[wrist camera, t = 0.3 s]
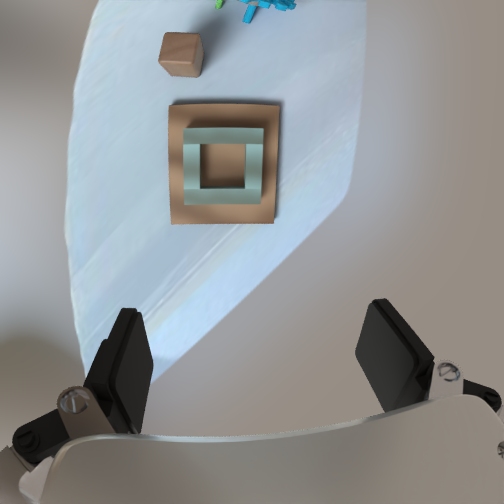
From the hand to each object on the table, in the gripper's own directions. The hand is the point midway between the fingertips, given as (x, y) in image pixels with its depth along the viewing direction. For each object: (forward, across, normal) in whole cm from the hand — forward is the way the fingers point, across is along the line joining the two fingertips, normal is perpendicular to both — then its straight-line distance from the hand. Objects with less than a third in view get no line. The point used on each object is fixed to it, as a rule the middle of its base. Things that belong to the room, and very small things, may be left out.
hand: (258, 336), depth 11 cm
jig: (+30, +1, -3) cm, 30 cm away
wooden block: (+30, +6, -18) cm, 35 cm away
